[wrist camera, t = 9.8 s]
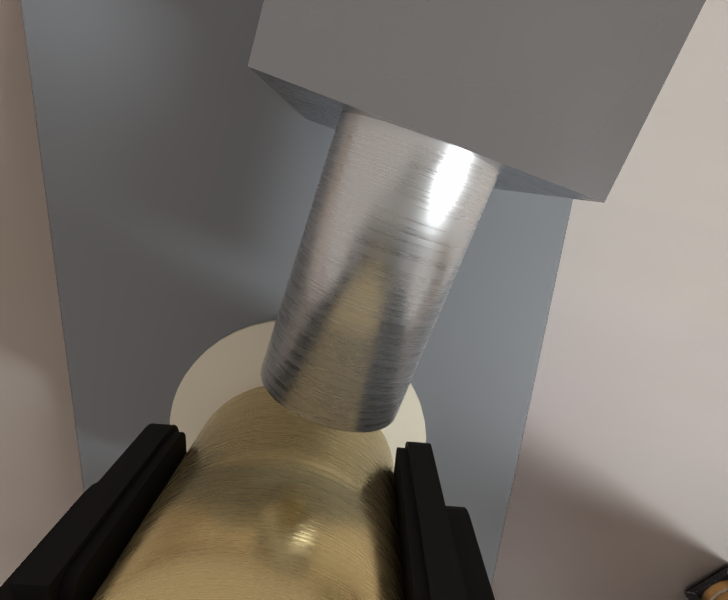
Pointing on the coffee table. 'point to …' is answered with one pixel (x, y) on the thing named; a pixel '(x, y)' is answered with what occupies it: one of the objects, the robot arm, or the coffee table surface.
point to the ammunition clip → (711, 588)
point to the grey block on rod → (436, 160)
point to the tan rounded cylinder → (268, 515)
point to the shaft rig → (245, 245)
